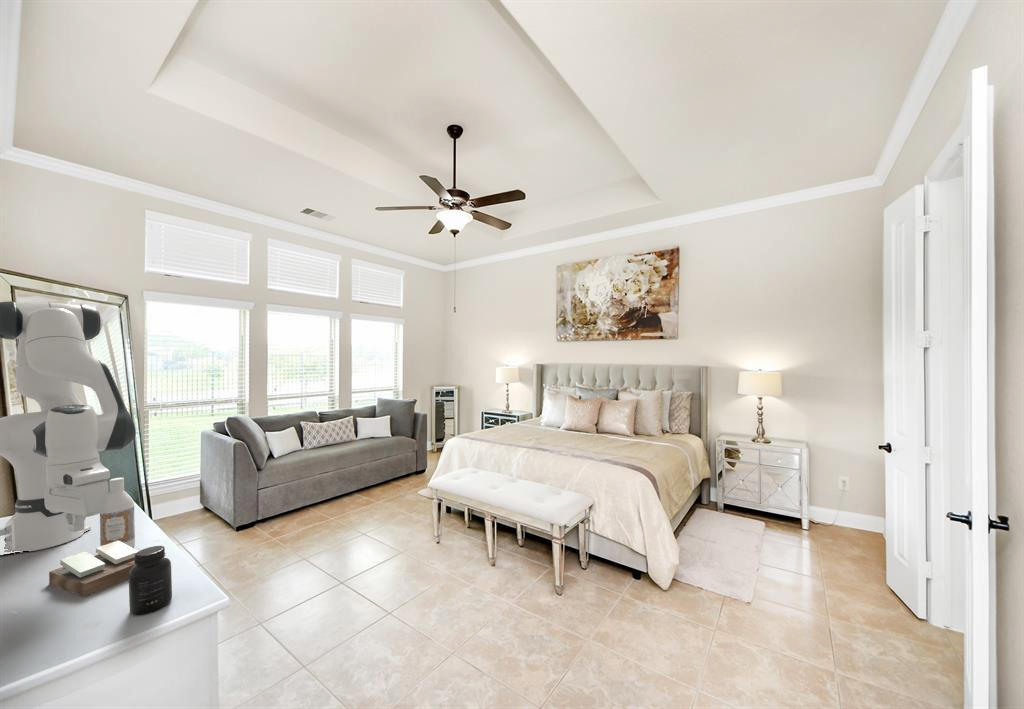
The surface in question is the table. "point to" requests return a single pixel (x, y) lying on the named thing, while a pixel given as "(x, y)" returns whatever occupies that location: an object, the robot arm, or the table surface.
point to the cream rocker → (116, 552)
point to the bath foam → (118, 516)
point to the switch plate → (92, 577)
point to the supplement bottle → (150, 581)
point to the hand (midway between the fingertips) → (75, 530)
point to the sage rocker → (82, 564)
